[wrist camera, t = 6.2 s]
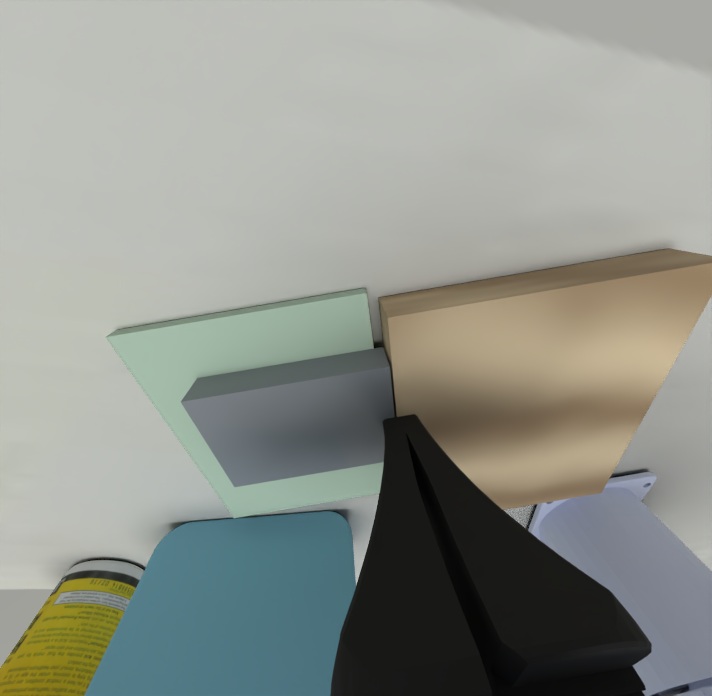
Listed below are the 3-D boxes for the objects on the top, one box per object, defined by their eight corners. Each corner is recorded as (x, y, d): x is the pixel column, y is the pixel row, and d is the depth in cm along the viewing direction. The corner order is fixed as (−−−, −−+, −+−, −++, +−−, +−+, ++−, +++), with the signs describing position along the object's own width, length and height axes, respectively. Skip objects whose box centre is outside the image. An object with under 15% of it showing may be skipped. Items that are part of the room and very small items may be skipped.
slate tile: (392, 435, 14) (398, 459, 13) (242, 460, 14) (234, 487, 13) (383, 346, 12) (389, 366, 10) (197, 378, 12) (180, 402, 10)
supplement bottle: (59, 555, 18) (-167, 864, 10) (149, 557, 20) (12, 837, 11) (77, 589, 21) (-93, 859, 13) (155, 589, 22) (48, 837, 14)
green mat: (390, 482, 17) (392, 491, 17) (236, 508, 17) (233, 518, 17) (364, 287, 11) (366, 293, 10) (116, 330, 11) (105, 337, 10)
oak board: (575, 464, 18) (601, 492, 16) (399, 494, 18) (406, 526, 16) (668, 248, 11) (731, 259, 9) (378, 297, 11) (387, 317, 9)
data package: (186, 555, 20) (33, 950, 10) (165, 522, 18) (-66, 994, 7) (350, 540, 21) (371, 884, 11) (350, 507, 19) (377, 904, 8)
